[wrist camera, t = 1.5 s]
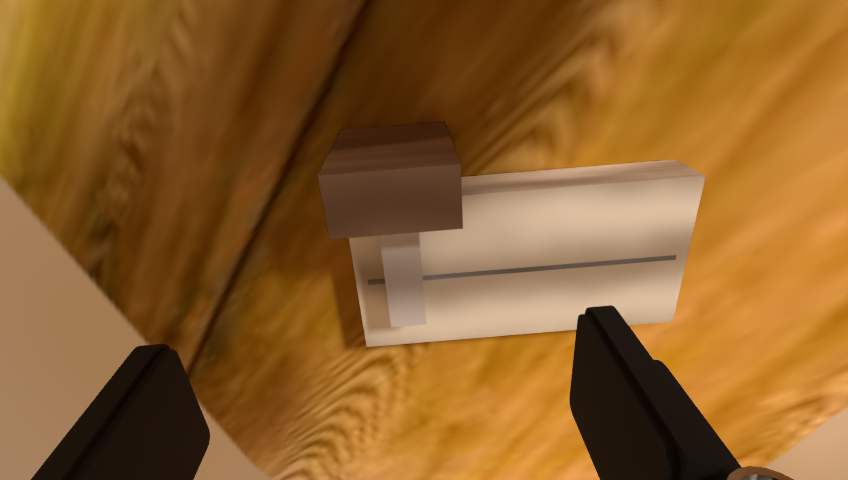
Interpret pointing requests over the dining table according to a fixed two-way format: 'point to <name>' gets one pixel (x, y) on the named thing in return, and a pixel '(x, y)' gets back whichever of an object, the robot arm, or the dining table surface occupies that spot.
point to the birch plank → (545, 253)
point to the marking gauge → (394, 200)
